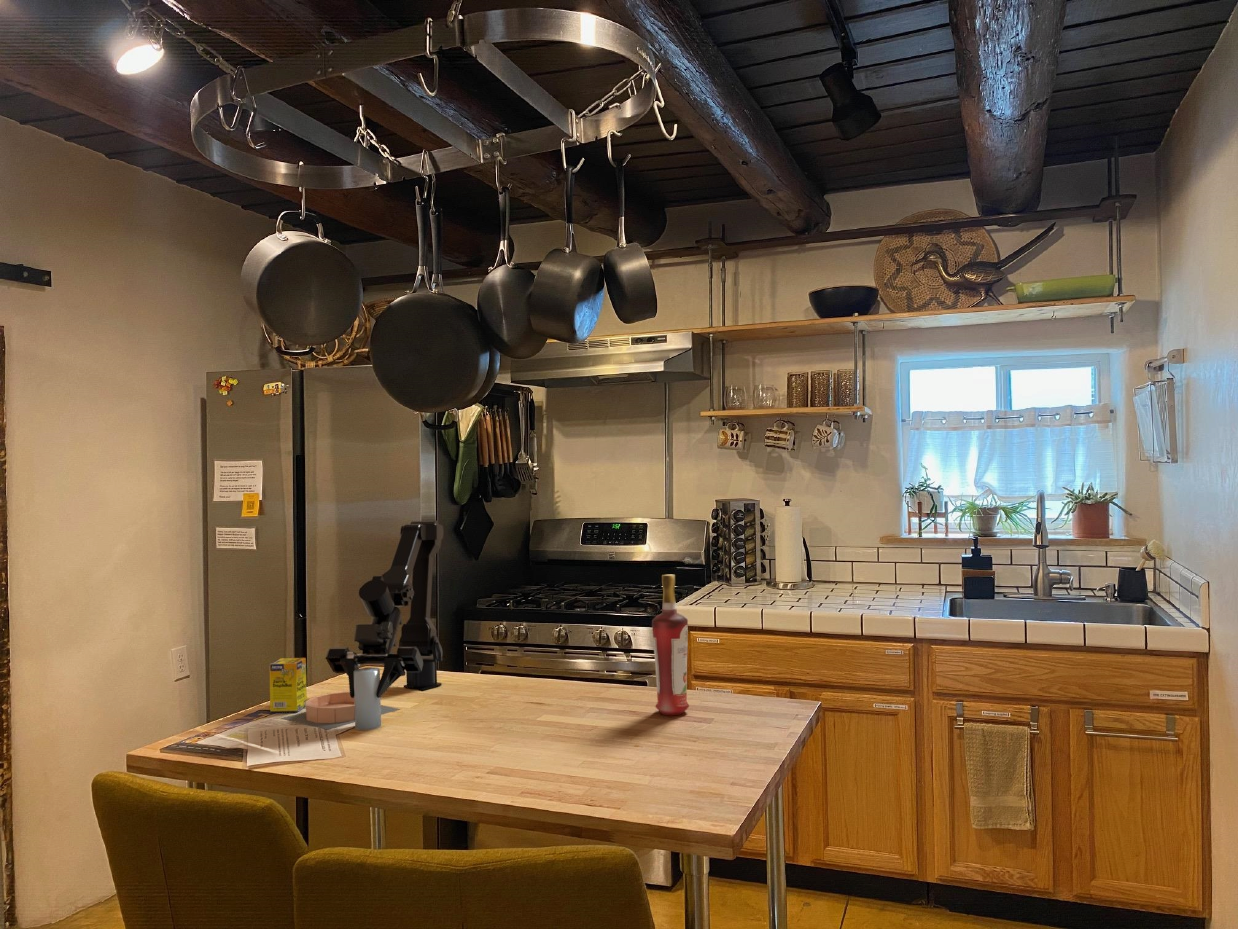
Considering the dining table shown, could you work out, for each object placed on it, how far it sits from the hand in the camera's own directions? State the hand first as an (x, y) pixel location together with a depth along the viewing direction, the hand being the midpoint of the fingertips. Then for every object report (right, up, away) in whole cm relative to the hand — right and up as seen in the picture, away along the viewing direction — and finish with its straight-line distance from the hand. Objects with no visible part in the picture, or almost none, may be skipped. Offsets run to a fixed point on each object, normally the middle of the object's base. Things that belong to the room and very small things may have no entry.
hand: (364, 696), depth 179 cm
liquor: (+61, -5, +6) cm, 62 cm away
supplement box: (-21, -8, +16) cm, 28 cm away
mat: (-8, -7, +12) cm, 16 cm away
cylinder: (0, -7, +1) cm, 7 cm away
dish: (-8, -6, +12) cm, 16 cm away
